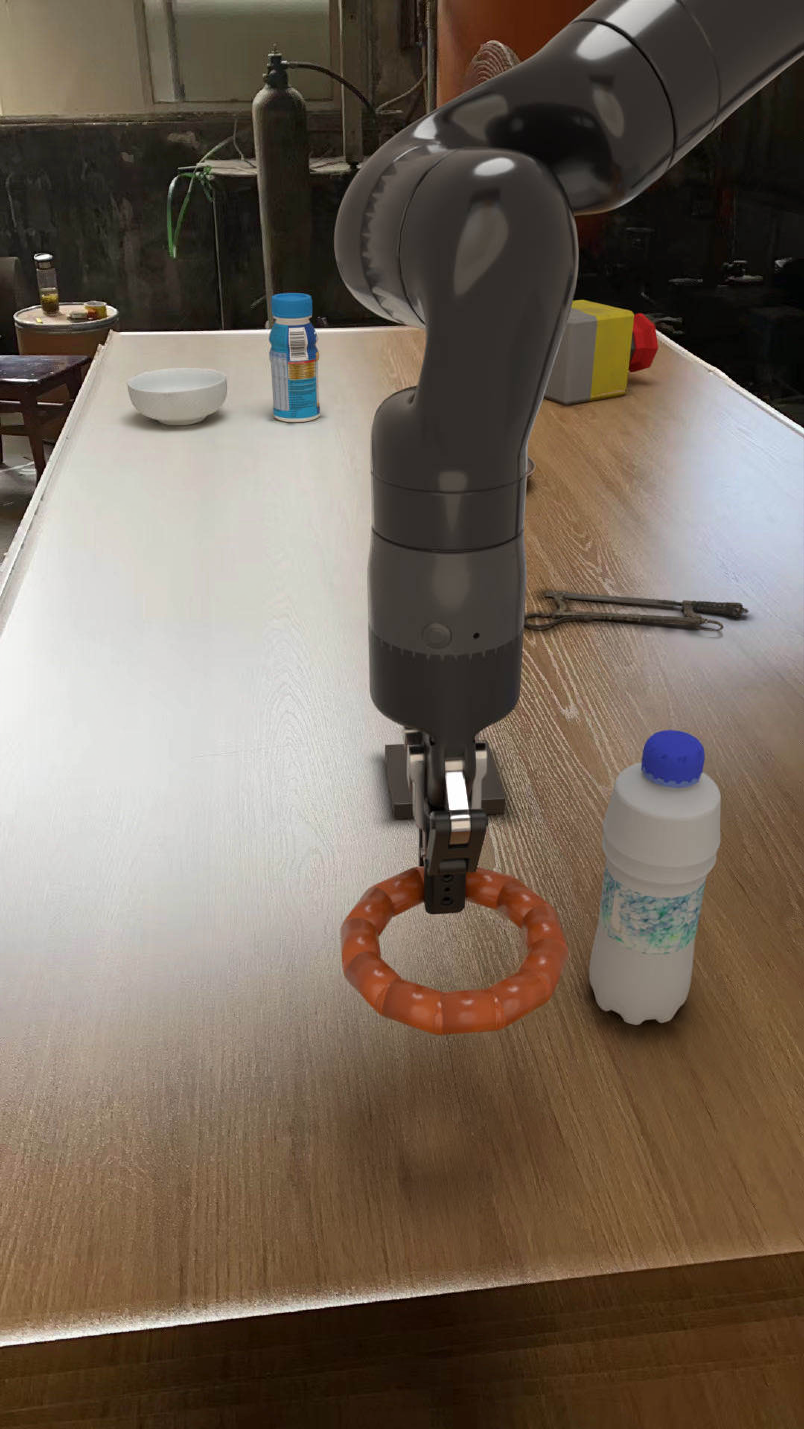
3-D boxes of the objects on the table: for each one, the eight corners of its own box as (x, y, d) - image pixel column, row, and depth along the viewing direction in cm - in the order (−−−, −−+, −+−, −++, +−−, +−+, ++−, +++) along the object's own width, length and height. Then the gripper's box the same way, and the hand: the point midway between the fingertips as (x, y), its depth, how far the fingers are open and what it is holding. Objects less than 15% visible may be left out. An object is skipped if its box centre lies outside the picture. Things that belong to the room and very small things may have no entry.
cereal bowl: (162, 403, 198) (158, 363, 194) (245, 411, 193) (243, 370, 190) (113, 428, 184) (107, 385, 180) (201, 437, 179) (197, 393, 176)
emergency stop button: (664, 389, 208) (675, 306, 200) (565, 406, 197) (572, 319, 189) (612, 373, 219) (620, 294, 211) (515, 388, 208) (520, 306, 200)
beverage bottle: (263, 420, 188) (256, 298, 178) (286, 408, 195) (281, 290, 185) (307, 425, 185) (302, 302, 175) (329, 413, 192) (325, 293, 182)
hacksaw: (747, 613, 121) (749, 600, 120) (748, 654, 112) (751, 641, 112) (531, 590, 126) (532, 578, 125) (517, 628, 118) (518, 616, 117)
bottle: (643, 952, 74) (681, 697, 64) (711, 1017, 69) (764, 751, 59) (562, 986, 71) (589, 724, 61) (626, 1056, 66) (667, 783, 56)
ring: (539, 878, 62) (541, 851, 61) (587, 1032, 52) (591, 1002, 51) (336, 892, 61) (335, 864, 60) (347, 1051, 52) (346, 1021, 51)
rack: (486, 754, 96) (494, 592, 88) (504, 813, 88) (515, 642, 80) (384, 759, 95) (383, 596, 87) (393, 819, 87) (393, 647, 79)
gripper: (553, 678, 47) (531, 977, 55) (498, 555, 58) (487, 817, 67) (379, 687, 46) (384, 987, 55) (359, 561, 58) (366, 824, 67)
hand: (441, 892), depth 61 cm, fingers closed on ring, 2 cm apart
